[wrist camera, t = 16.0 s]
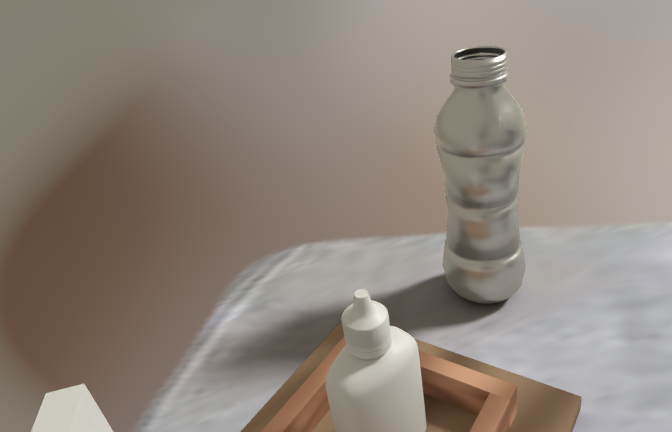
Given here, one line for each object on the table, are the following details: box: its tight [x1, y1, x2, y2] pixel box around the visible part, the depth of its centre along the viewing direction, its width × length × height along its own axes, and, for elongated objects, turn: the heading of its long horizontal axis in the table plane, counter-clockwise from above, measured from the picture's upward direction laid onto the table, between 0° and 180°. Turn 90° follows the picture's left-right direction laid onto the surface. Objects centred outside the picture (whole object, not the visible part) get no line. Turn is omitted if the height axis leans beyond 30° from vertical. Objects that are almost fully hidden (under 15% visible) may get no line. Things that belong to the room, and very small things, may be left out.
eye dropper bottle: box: [325, 289, 426, 432], centre depth 30 cm, size 4×6×12 cm
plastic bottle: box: [434, 46, 527, 304], centre depth 41 cm, size 6×7×20 cm
